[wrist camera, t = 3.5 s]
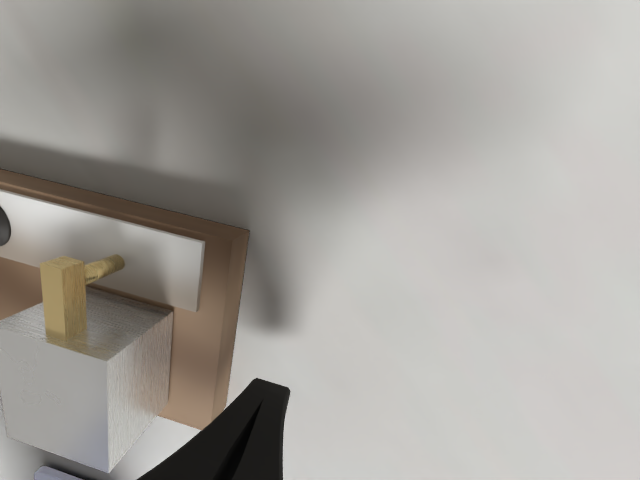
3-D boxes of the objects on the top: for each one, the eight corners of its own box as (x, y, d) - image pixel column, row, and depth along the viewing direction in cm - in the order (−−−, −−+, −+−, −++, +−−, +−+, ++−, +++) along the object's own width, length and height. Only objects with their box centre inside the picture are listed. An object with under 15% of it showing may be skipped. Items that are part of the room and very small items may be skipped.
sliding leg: (167, 403, 13) (108, 473, 10) (85, 376, 13) (7, 436, 10) (176, 253, 11) (105, 288, 8) (79, 228, 11) (-21, 252, 8)
